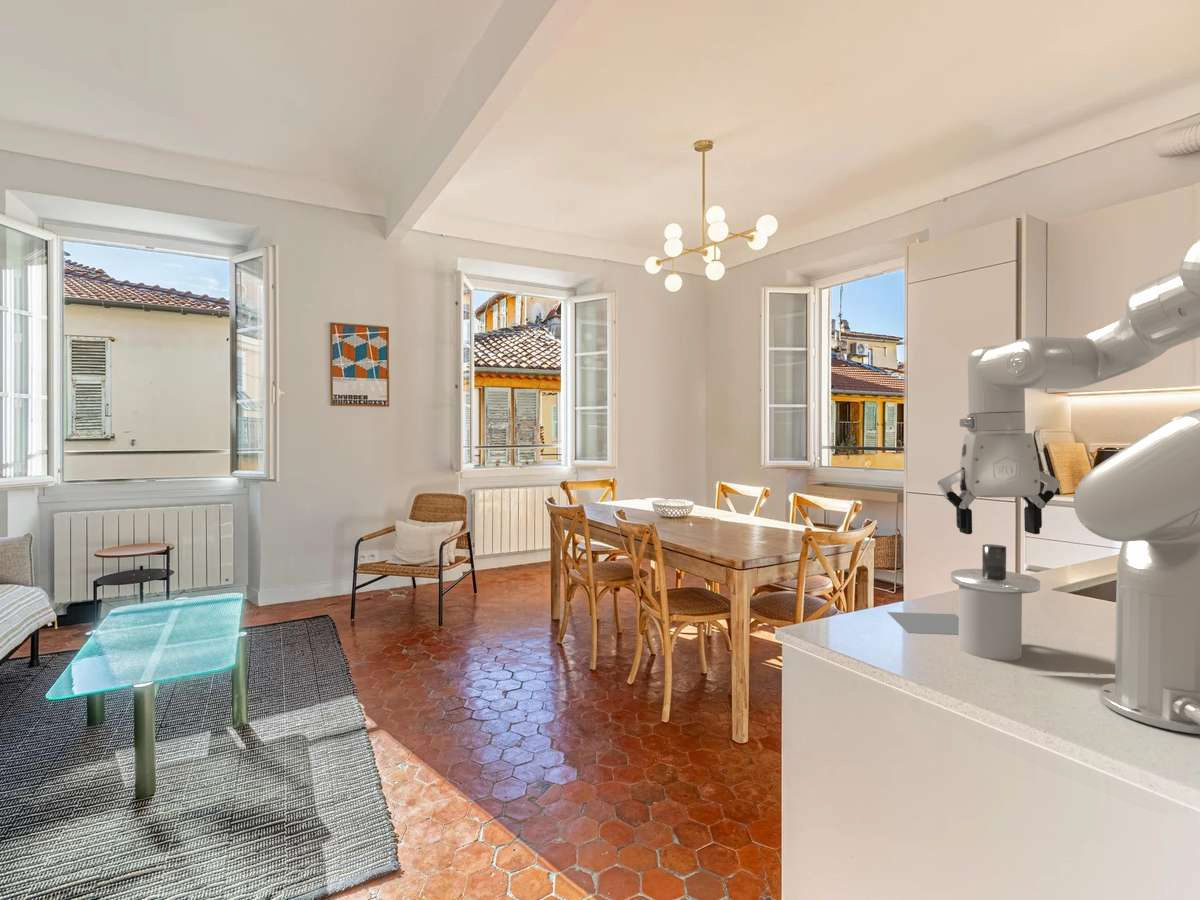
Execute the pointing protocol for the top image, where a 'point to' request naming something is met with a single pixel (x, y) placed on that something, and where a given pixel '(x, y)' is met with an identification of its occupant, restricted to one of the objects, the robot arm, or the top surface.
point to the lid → (995, 574)
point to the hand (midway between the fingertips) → (998, 533)
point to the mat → (927, 622)
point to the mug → (990, 624)
